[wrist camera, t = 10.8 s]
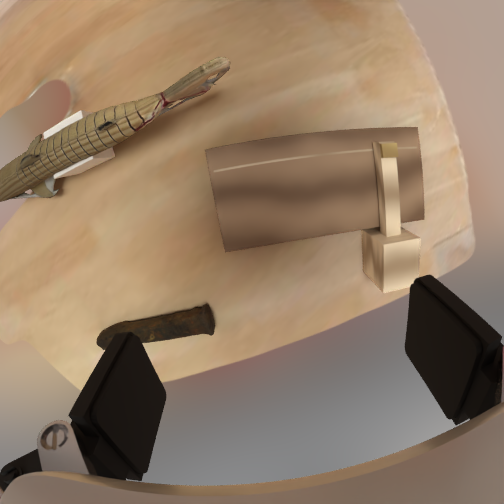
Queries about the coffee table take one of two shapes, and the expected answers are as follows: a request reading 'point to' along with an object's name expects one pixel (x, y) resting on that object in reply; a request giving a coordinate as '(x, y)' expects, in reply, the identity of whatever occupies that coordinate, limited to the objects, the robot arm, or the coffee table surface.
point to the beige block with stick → (389, 230)
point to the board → (309, 185)
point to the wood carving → (95, 136)
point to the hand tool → (163, 327)
